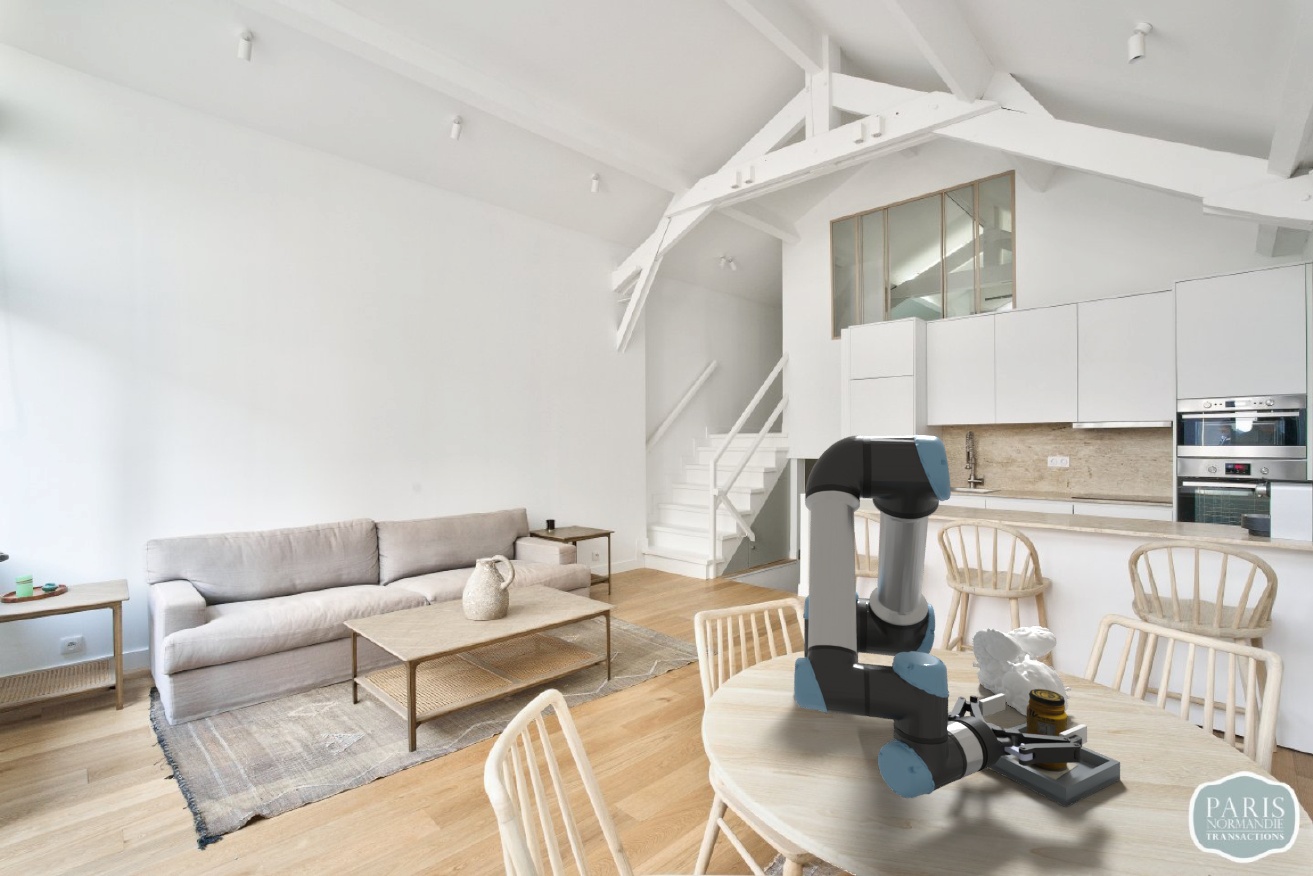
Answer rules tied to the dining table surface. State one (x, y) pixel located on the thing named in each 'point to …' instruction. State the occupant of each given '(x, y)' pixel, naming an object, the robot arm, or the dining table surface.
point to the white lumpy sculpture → (1016, 664)
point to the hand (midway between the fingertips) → (1041, 716)
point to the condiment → (1047, 726)
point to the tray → (1069, 786)
